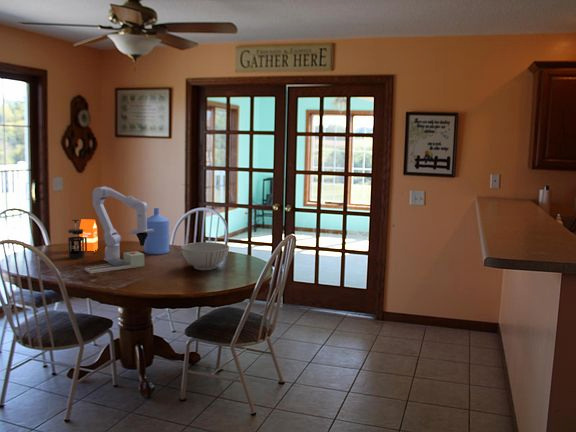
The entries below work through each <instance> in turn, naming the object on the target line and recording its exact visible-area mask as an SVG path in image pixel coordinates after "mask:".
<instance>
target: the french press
mask: <svg viewBox="0 0 576 432" xmlns="http://www.w3.org/2000/svg"><path fill="white" fill-rule="evenodd" d="M71 221H73V222H74V227H75V228H71V229H68V230H67V232H68V234H73V235H74V236H70V237H67V243H68V252H67V253H68V254H67V255H68V257H67V258H68V259H69V258H71V259H70V260H79V259H78V258H82V259H85V258H84V257H86V256H85V253H86V252H87V237H79V236H77V235H79V234H83V230H84V229H79V228H77V222H78V221H80V220H79V219H77V218H76V219H75V218H74V219H71ZM84 238H85V251H84ZM81 241H82V246H81ZM76 242H78V243H76ZM81 249H82V251H81ZM87 253H88V252H87Z"/></svg>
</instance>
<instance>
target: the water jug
mask: <svg viewBox="0 0 576 432" xmlns="http://www.w3.org/2000/svg"><path fill="white" fill-rule="evenodd" d="M147 229H154V232H150V233H147V234H148V236H147V237H146V240H145V243H144V248H143V249H144V250H143V252H144V254H147V255H164V254H168V253H169V252H170V219H169V218H167V217H165V216H162V215H161V214H160V208H158V207H156V208H153V215H151V216H149V217H147Z"/></svg>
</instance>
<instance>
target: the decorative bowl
mask: <svg viewBox="0 0 576 432" xmlns="http://www.w3.org/2000/svg"><path fill="white" fill-rule="evenodd" d="M180 248H181V249H180V250H181V253H182V255H183V257H184V259H185V260H186V261H187V263H189V264H190V265H191V266H193V269H195V270H197V271H198V270H199V271H210V270H215V269H216V268H217V266H219V265H220V264H221V263H222V262H223V261H224V260H225V259H226V257H227V256H228V253H229V251H230V246H229V245H227V244H225V243H221V242H210V241H209V242H208V241H207V242H206V241H205V242H202V241H201V242H191V243H185V244H183V245H181V247H180Z"/></svg>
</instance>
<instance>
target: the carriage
mask: <svg viewBox="0 0 576 432" xmlns="http://www.w3.org/2000/svg"><path fill="white" fill-rule="evenodd" d="M107 262H108V263H107V264H112V265H121V264H124V259H121V258H120V259H119V253H118V252H115V253H113V259H109V260H108V261H107Z"/></svg>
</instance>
